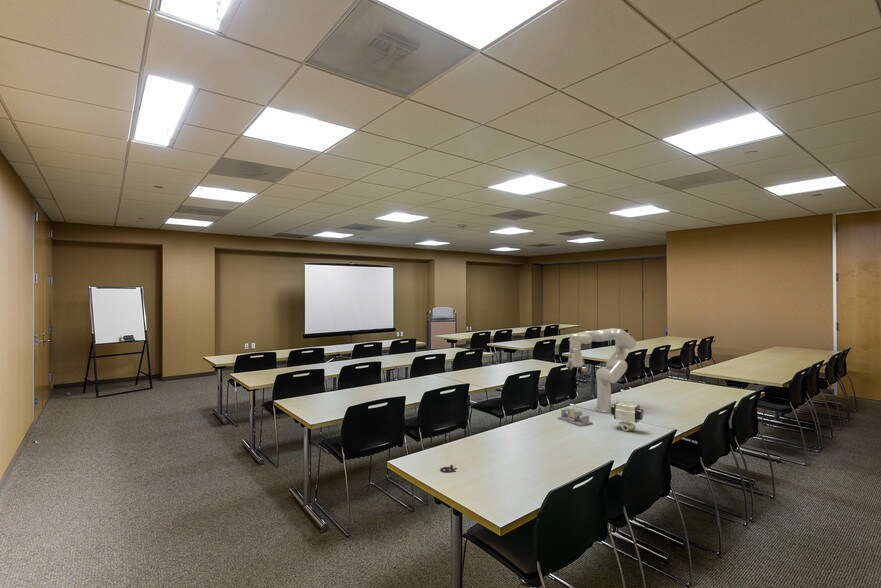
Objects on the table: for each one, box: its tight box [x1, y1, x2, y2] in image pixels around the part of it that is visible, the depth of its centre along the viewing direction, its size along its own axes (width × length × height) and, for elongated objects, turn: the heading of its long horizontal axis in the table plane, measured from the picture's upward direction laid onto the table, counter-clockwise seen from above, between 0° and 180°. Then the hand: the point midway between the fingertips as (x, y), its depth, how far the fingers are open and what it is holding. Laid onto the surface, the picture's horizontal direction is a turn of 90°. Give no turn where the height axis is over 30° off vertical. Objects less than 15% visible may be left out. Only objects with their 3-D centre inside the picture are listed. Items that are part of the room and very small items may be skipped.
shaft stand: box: [557, 408, 594, 428], centre depth 287 cm, size 20×12×6 cm, turn 29°
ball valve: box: [610, 401, 644, 432], centre depth 269 cm, size 18×8×18 cm, turn 50°
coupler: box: [568, 408, 583, 422], centre depth 287 cm, size 8×5×6 cm, turn 29°
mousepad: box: [439, 464, 457, 474], centre depth 206 cm, size 9×8×1 cm
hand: (575, 374), depth 306 cm, fingers open, 9 cm apart
